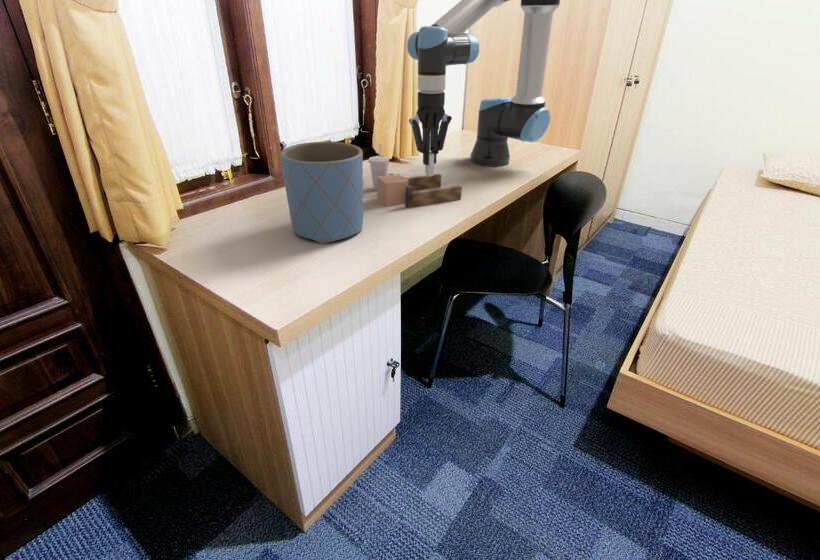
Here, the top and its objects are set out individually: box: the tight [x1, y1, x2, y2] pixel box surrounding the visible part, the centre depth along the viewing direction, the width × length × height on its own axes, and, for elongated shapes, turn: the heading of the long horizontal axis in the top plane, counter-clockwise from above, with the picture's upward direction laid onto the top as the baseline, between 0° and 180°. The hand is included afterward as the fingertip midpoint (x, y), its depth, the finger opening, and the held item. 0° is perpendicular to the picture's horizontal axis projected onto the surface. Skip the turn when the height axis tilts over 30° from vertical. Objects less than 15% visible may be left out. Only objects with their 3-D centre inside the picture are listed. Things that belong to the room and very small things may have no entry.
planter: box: [279, 141, 364, 245], centre depth 107 cm, size 19×19×20 cm
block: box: [376, 173, 409, 208], centre depth 129 cm, size 7×7×7 cm
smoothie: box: [368, 144, 390, 192], centre depth 136 cm, size 6×6×14 cm
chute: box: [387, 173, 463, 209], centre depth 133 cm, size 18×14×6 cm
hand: (429, 174), depth 132 cm, fingers closed
